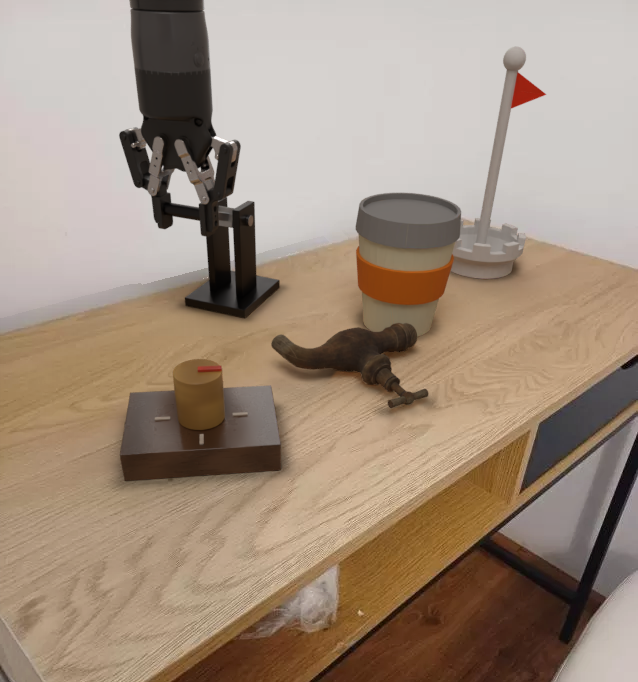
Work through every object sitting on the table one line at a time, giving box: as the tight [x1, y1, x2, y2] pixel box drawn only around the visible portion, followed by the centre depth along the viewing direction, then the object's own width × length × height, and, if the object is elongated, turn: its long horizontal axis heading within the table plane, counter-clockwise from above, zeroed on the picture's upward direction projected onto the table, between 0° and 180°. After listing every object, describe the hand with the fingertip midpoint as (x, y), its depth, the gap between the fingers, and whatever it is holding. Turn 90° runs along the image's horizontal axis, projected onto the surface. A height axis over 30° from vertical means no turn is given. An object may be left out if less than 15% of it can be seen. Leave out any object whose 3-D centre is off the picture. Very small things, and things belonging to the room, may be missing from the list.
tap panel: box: [119, 385, 282, 482], centre depth 61 cm, size 14×10×3 cm
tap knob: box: [172, 358, 225, 430], centre depth 59 cm, size 4×4×5 cm
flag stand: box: [450, 46, 547, 280], centre depth 93 cm, size 13×13×30 cm
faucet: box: [270, 323, 429, 409], centre depth 72 cm, size 5×17×15 cm
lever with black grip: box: [163, 202, 236, 229], centre depth 78 cm, size 13×5×2 cm, turn 158°
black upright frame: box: [184, 197, 280, 319], centre depth 86 cm, size 11×9×13 cm
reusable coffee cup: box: [355, 192, 462, 338], centre depth 80 cm, size 13×13×15 cm
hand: (186, 230), depth 74 cm, fingers closed on lever with black grip, 5 cm apart
